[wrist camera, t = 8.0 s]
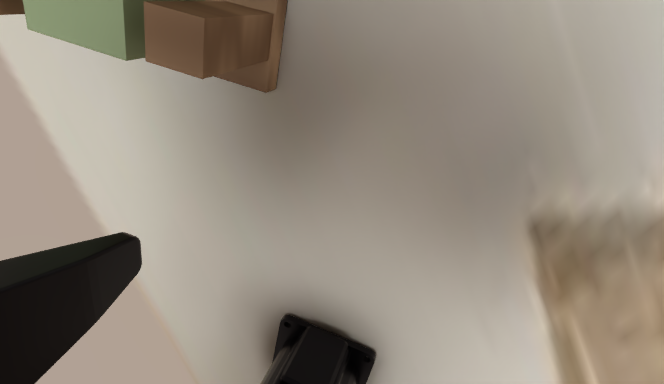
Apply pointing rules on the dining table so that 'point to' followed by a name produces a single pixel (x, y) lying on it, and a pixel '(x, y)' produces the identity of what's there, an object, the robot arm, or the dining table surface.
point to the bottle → (93, 24)
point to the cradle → (211, 38)
